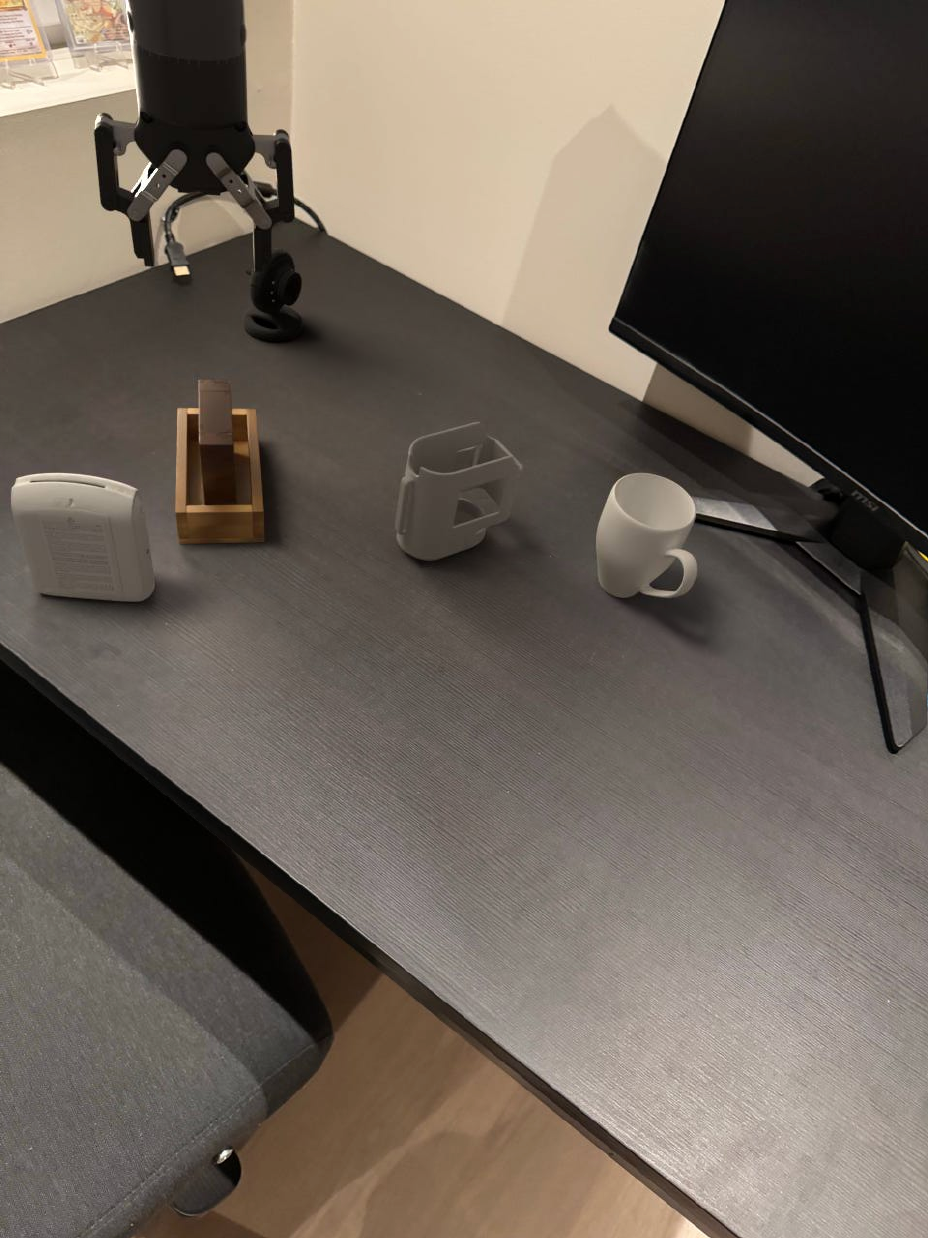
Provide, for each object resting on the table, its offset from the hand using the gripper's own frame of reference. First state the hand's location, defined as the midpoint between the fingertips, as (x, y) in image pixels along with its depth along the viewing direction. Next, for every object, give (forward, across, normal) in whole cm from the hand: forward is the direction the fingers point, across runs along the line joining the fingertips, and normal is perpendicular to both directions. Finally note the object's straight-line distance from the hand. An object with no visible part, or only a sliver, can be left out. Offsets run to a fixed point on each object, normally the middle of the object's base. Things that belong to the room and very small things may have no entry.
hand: (204, 264), depth 69 cm
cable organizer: (+24, -23, +8) cm, 34 cm away
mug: (+24, -40, +17) cm, 50 cm away
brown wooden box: (+24, 0, 0) cm, 24 cm away
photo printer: (+24, +11, +13) cm, 30 cm away
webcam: (+24, -7, -31) cm, 40 cm away
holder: (+24, 0, 0) cm, 24 cm away
